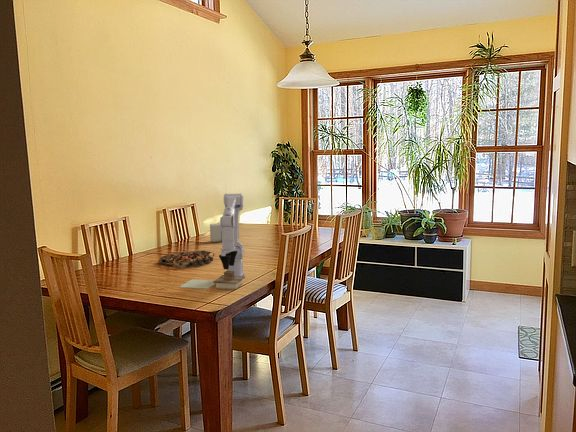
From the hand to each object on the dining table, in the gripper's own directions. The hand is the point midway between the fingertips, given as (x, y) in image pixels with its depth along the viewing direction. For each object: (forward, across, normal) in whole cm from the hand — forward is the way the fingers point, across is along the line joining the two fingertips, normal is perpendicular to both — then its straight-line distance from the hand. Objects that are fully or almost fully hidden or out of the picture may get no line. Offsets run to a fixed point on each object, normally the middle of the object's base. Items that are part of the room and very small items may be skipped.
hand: (228, 267), depth 238 cm
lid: (+6, 0, 0) cm, 6 cm away
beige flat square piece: (+9, 0, -16) cm, 18 cm away
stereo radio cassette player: (+10, -115, -47) cm, 125 cm away
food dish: (+10, -46, -44) cm, 64 cm away
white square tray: (+9, 0, 0) cm, 9 cm away
